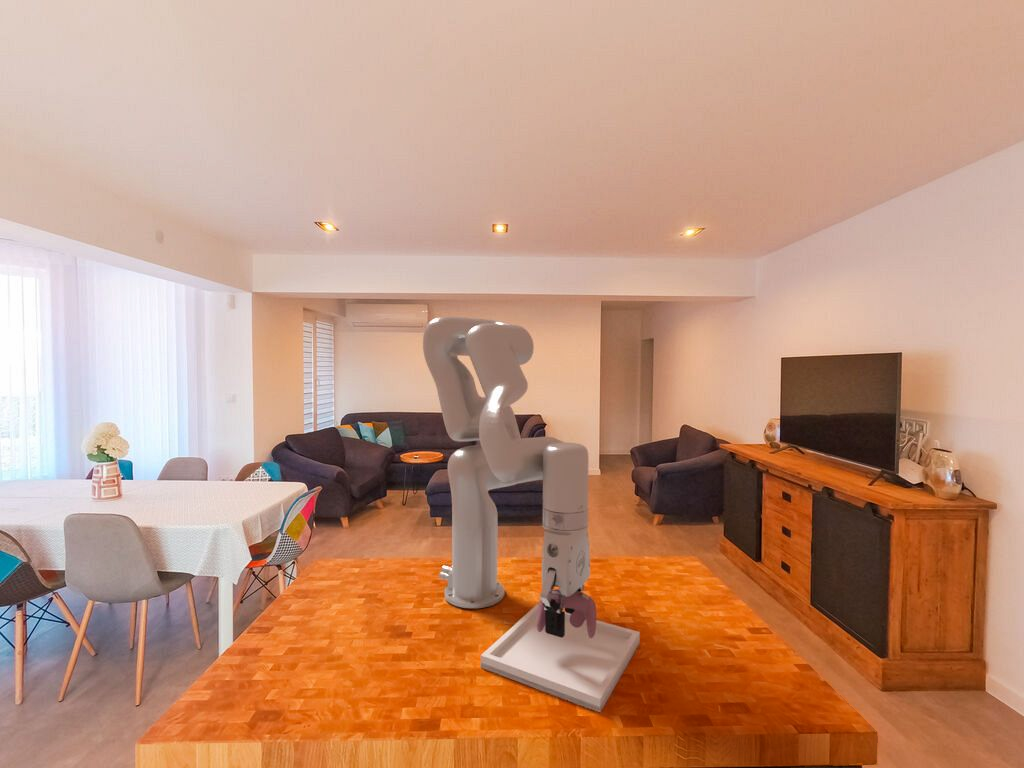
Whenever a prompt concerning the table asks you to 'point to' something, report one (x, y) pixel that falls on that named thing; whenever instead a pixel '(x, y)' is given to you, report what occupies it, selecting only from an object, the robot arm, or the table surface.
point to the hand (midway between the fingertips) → (564, 623)
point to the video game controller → (583, 610)
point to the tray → (564, 659)
